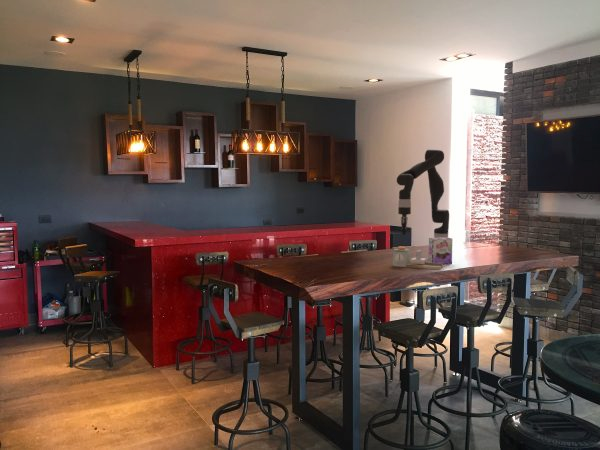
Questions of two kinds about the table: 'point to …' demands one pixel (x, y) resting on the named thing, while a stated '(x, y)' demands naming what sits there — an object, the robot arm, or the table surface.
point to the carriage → (418, 258)
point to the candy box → (440, 250)
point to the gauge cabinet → (401, 257)
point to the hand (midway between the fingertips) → (404, 234)
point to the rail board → (425, 265)
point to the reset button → (401, 248)
